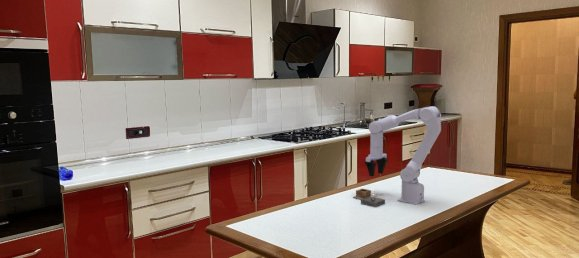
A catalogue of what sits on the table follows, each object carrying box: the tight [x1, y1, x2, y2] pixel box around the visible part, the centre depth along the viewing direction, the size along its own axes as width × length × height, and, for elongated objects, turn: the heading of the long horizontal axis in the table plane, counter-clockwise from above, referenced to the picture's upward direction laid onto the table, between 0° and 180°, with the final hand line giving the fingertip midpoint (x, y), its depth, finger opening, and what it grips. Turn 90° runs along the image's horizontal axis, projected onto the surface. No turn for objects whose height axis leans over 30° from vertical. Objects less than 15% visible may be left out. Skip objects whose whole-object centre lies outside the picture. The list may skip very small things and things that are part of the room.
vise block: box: [360, 192, 386, 208], centre depth 190 cm, size 8×7×4 cm
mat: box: [352, 195, 363, 201], centre depth 200 cm, size 7×7×1 cm
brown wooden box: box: [355, 188, 372, 198], centre depth 199 cm, size 5×5×3 cm
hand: (376, 174), depth 203 cm, fingers open, 7 cm apart
